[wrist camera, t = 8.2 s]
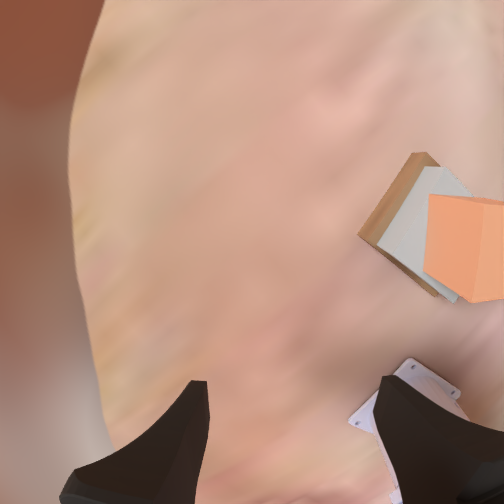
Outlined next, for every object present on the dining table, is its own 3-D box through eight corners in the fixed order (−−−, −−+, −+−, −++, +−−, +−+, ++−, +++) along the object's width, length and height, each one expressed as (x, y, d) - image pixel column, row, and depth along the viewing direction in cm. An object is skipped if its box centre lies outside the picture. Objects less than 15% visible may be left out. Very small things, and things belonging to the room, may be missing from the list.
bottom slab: (467, 212, 21) (486, 217, 18) (419, 285, 22) (434, 297, 20) (409, 153, 20) (426, 152, 17) (355, 233, 21) (367, 241, 19)
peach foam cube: (483, 198, 15) (539, 209, 11) (477, 267, 16) (527, 294, 12) (428, 193, 15) (484, 203, 11) (422, 271, 17) (471, 303, 12)
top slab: (478, 219, 18) (500, 226, 16) (435, 290, 20) (453, 304, 17) (424, 166, 18) (445, 167, 15) (376, 244, 19) (392, 255, 16)
